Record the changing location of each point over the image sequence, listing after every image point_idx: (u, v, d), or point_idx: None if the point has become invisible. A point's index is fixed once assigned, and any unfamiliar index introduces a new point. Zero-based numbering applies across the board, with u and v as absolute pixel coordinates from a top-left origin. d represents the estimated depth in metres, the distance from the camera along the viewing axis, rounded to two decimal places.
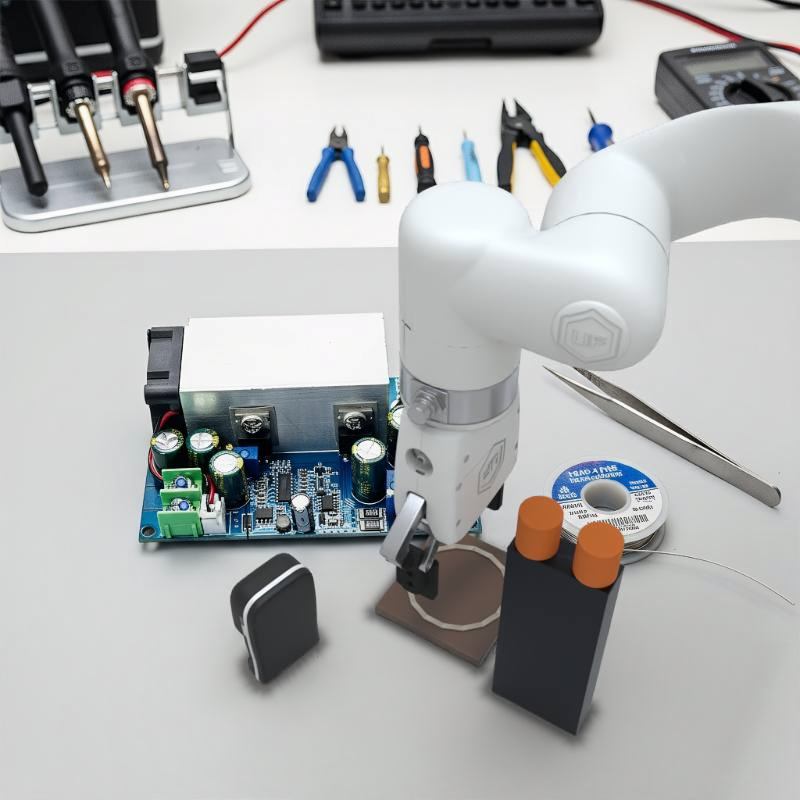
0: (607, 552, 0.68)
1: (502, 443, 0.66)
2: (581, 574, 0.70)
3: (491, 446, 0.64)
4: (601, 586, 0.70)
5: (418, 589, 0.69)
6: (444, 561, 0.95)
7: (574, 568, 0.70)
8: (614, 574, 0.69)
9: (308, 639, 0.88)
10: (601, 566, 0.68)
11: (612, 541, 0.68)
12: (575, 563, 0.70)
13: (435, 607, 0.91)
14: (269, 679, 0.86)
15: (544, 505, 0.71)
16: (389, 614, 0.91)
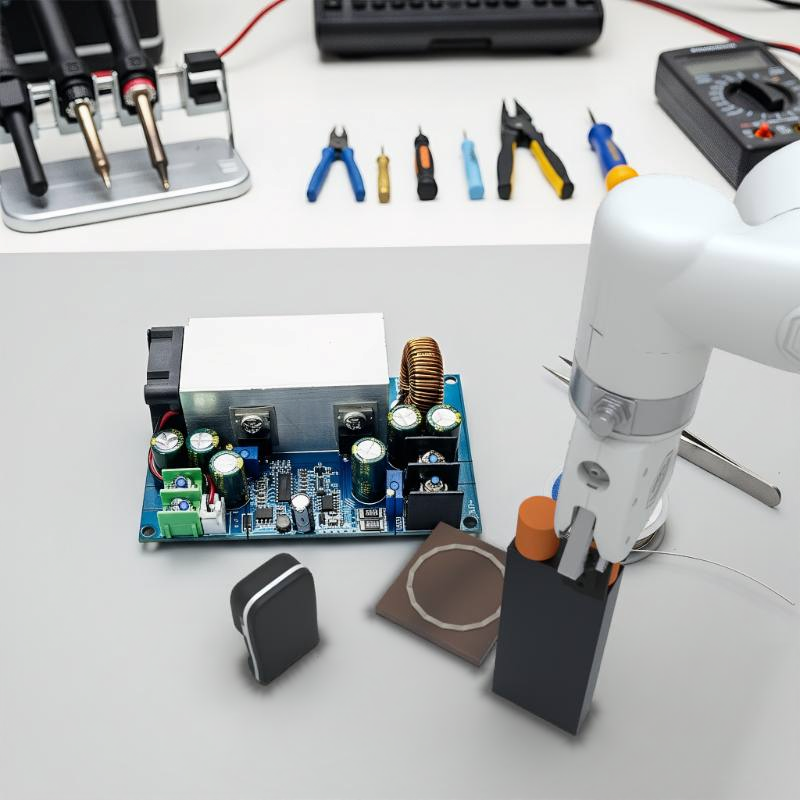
0: None
1: (670, 454, 0.62)
2: None
3: (664, 458, 0.60)
4: None
5: (589, 589, 0.68)
6: (444, 561, 0.95)
7: None
8: (614, 574, 0.69)
9: (308, 639, 0.88)
10: None
11: None
12: None
13: (435, 607, 0.91)
14: (269, 679, 0.86)
15: (544, 505, 0.71)
16: (389, 614, 0.91)
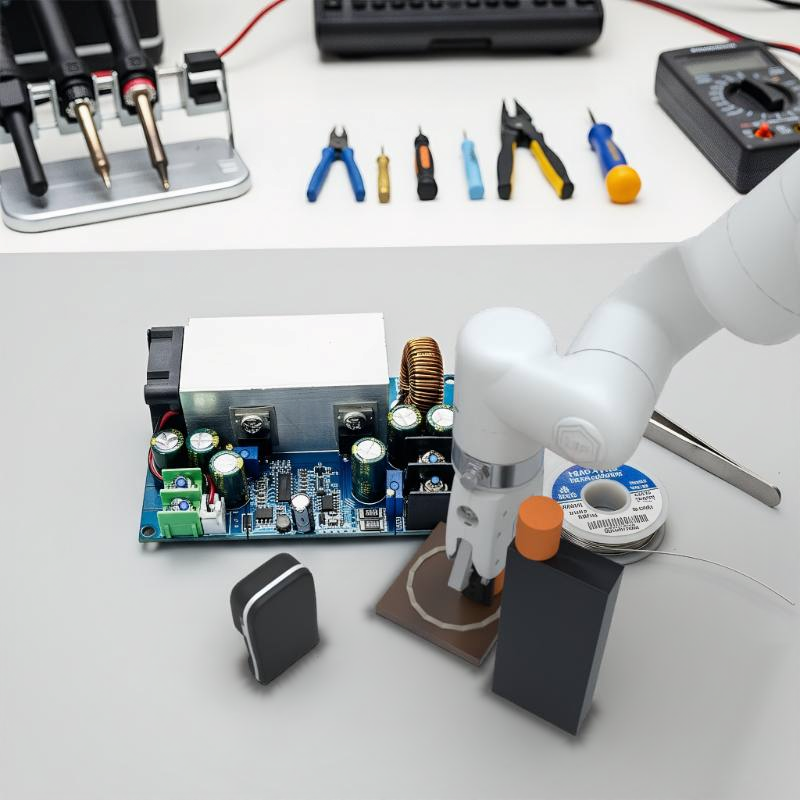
0: None
1: None
2: None
3: None
4: None
5: (479, 598, 0.90)
6: (444, 561, 0.95)
7: None
8: (499, 586, 0.91)
9: (308, 639, 0.88)
10: None
11: None
12: None
13: (435, 607, 0.91)
14: (269, 679, 0.86)
15: (544, 505, 0.71)
16: (389, 614, 0.91)
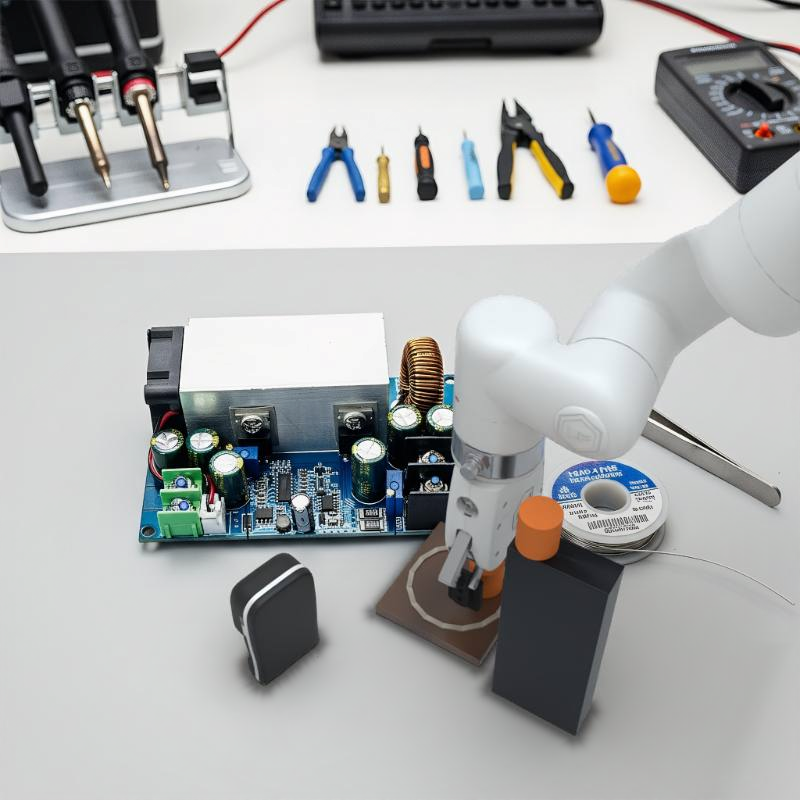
0: (490, 571, 0.90)
1: (531, 490, 0.83)
2: None
3: (523, 493, 0.82)
4: (488, 597, 0.92)
5: (467, 603, 0.87)
6: (444, 561, 0.95)
7: None
8: (498, 588, 0.92)
9: (308, 639, 0.88)
10: (486, 582, 0.90)
11: None
12: None
13: (435, 607, 0.91)
14: (269, 679, 0.86)
15: (544, 505, 0.71)
16: (389, 614, 0.91)
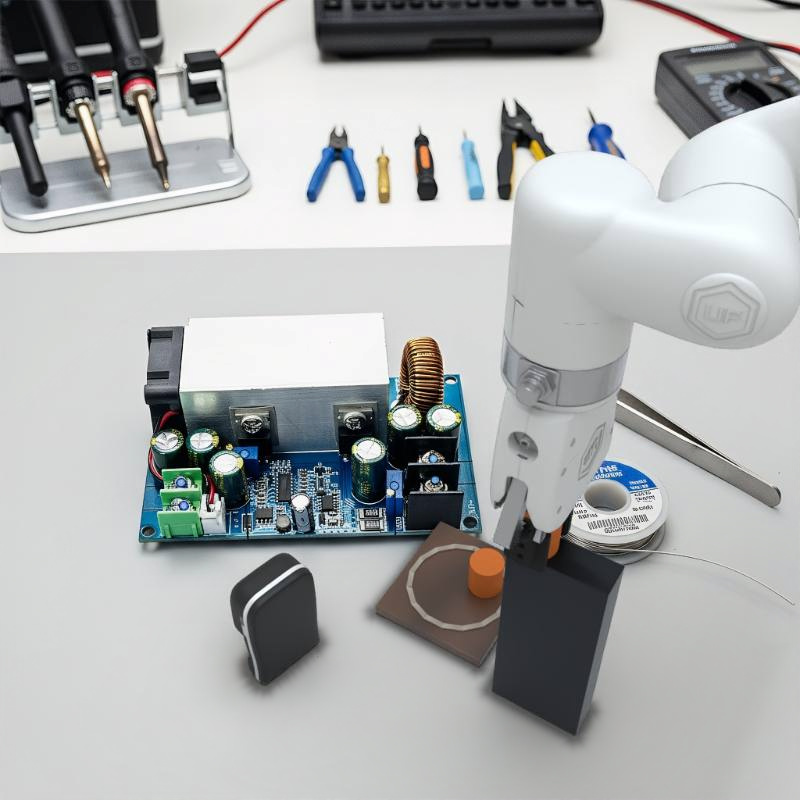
0: (490, 571, 0.90)
1: (602, 427, 0.64)
2: (473, 588, 0.92)
3: (594, 430, 0.62)
4: (488, 597, 0.92)
5: (529, 561, 0.69)
6: (444, 561, 0.95)
7: (468, 583, 0.93)
8: (498, 588, 0.92)
9: (308, 639, 0.88)
10: (486, 582, 0.90)
11: (495, 563, 0.91)
12: (469, 579, 0.92)
13: (435, 607, 0.91)
14: (269, 679, 0.86)
15: None
16: (389, 614, 0.91)
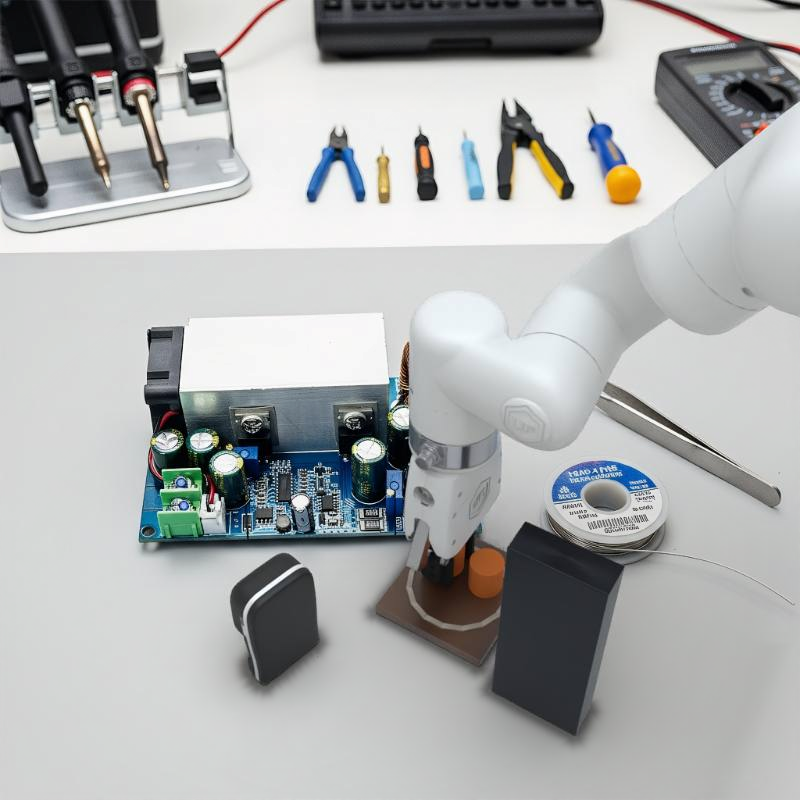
0: (490, 571, 0.90)
1: (488, 480, 0.86)
2: (473, 588, 0.92)
3: (479, 483, 0.84)
4: (488, 597, 0.92)
5: (438, 579, 0.91)
6: None
7: (468, 583, 0.93)
8: (498, 588, 0.92)
9: (308, 639, 0.88)
10: (486, 582, 0.90)
11: (495, 563, 0.91)
12: (469, 579, 0.92)
13: (435, 607, 0.91)
14: (269, 679, 0.86)
15: None
16: (389, 614, 0.91)
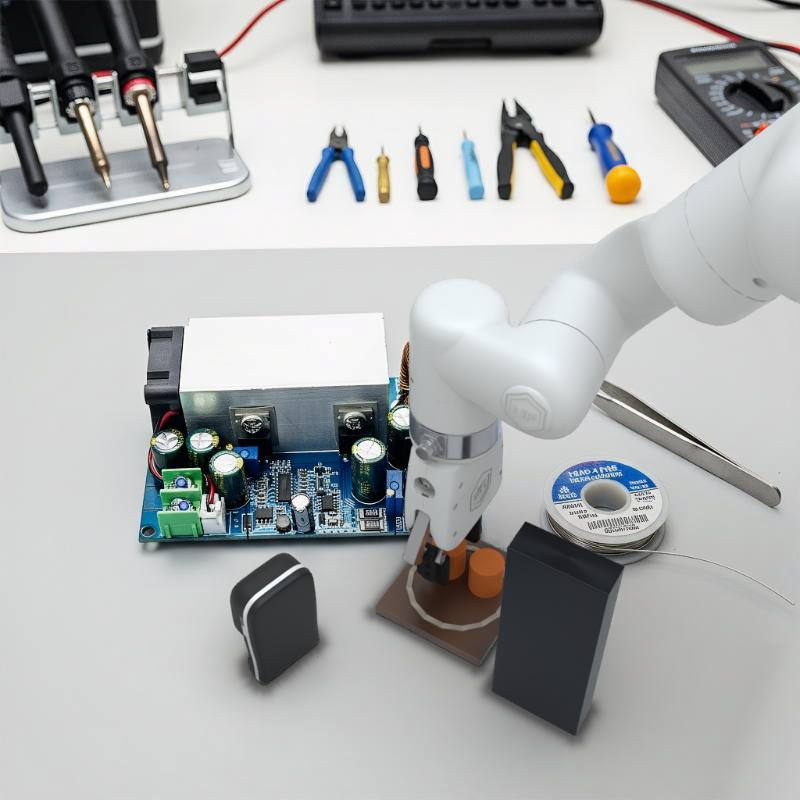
0: (490, 571, 0.90)
1: (489, 471, 0.85)
2: (473, 588, 0.92)
3: (480, 474, 0.83)
4: (488, 597, 0.92)
5: (434, 577, 0.90)
6: None
7: (468, 583, 0.93)
8: (498, 588, 0.92)
9: (308, 639, 0.88)
10: (486, 582, 0.90)
11: (495, 563, 0.91)
12: (469, 579, 0.92)
13: (435, 607, 0.91)
14: (269, 679, 0.86)
15: None
16: (389, 614, 0.91)
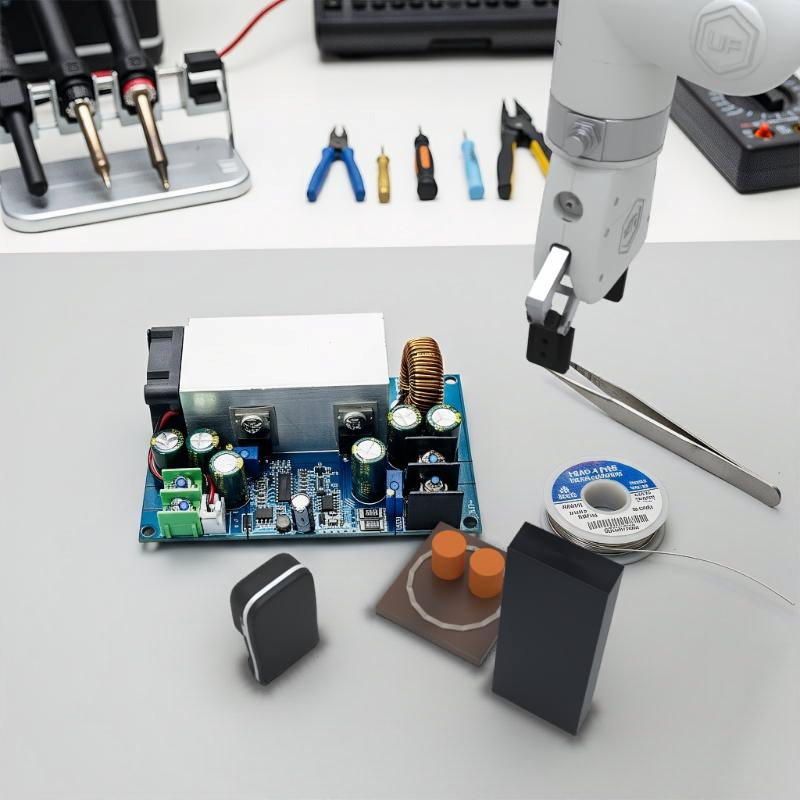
0: (490, 571, 0.90)
1: (641, 204, 0.67)
2: (473, 588, 0.92)
3: (634, 199, 0.65)
4: (488, 597, 0.92)
5: (552, 359, 0.69)
6: None
7: (468, 583, 0.93)
8: (498, 588, 0.92)
9: (308, 639, 0.88)
10: (486, 582, 0.90)
11: (495, 563, 0.91)
12: (469, 579, 0.92)
13: (435, 607, 0.91)
14: (269, 679, 0.86)
15: (452, 538, 0.93)
16: (389, 614, 0.91)
